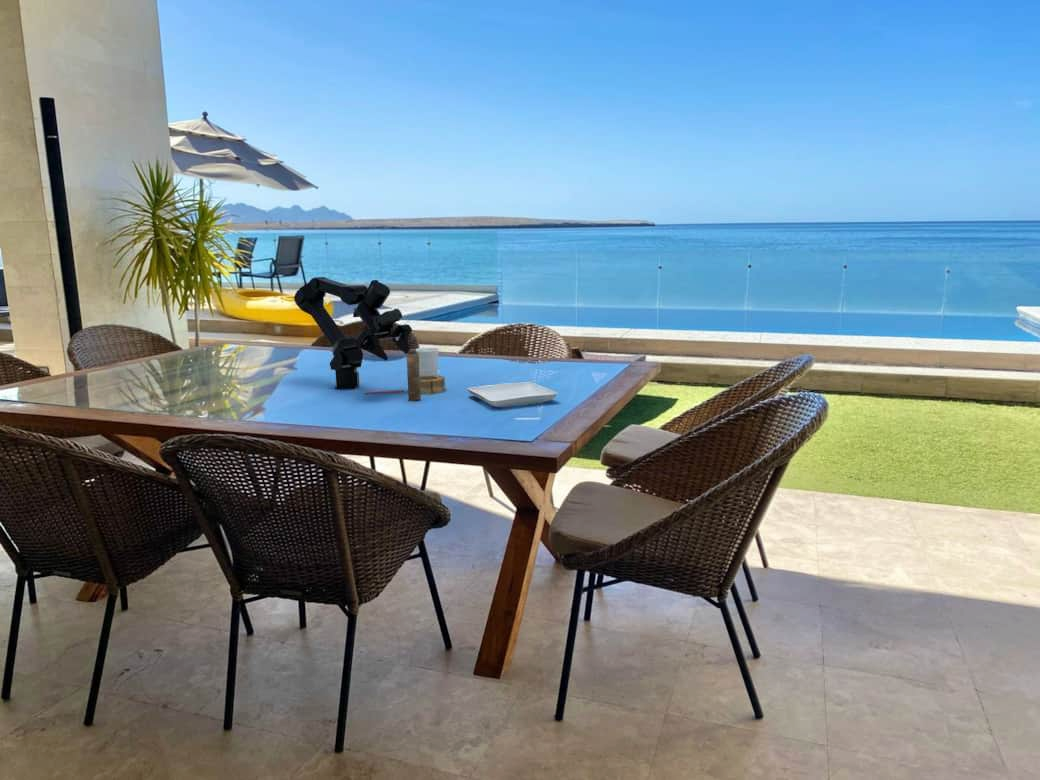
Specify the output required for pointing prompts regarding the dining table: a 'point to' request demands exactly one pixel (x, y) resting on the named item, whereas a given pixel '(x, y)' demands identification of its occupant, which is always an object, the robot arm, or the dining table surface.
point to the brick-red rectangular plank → (385, 391)
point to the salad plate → (513, 394)
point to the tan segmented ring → (432, 384)
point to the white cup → (428, 361)
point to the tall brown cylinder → (413, 375)
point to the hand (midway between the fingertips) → (398, 357)
